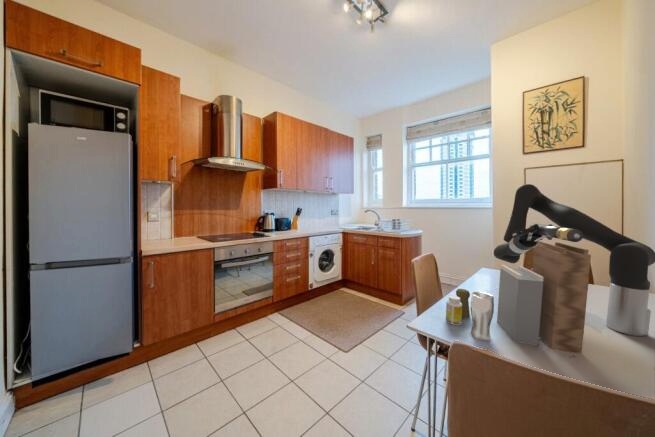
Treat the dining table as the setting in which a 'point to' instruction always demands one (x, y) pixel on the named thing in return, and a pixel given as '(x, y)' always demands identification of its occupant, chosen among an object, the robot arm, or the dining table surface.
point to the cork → (464, 301)
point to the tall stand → (562, 294)
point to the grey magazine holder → (520, 304)
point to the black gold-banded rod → (559, 233)
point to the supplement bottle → (454, 310)
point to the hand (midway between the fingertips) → (544, 226)
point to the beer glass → (481, 314)
